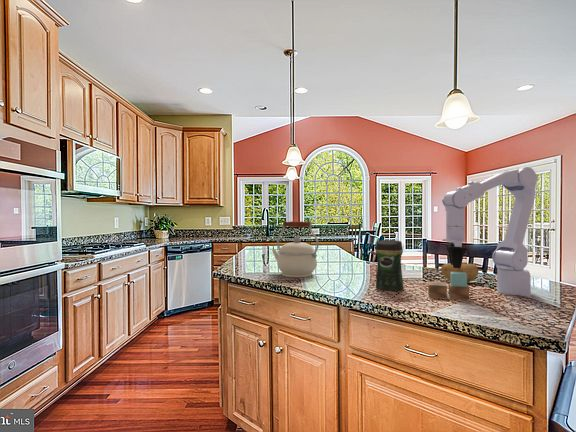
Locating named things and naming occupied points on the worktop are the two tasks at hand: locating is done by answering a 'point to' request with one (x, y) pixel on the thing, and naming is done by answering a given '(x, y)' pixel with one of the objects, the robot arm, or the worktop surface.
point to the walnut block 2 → (458, 292)
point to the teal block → (458, 279)
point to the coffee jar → (389, 265)
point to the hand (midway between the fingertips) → (455, 266)
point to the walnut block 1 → (437, 290)
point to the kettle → (296, 254)
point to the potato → (460, 270)
